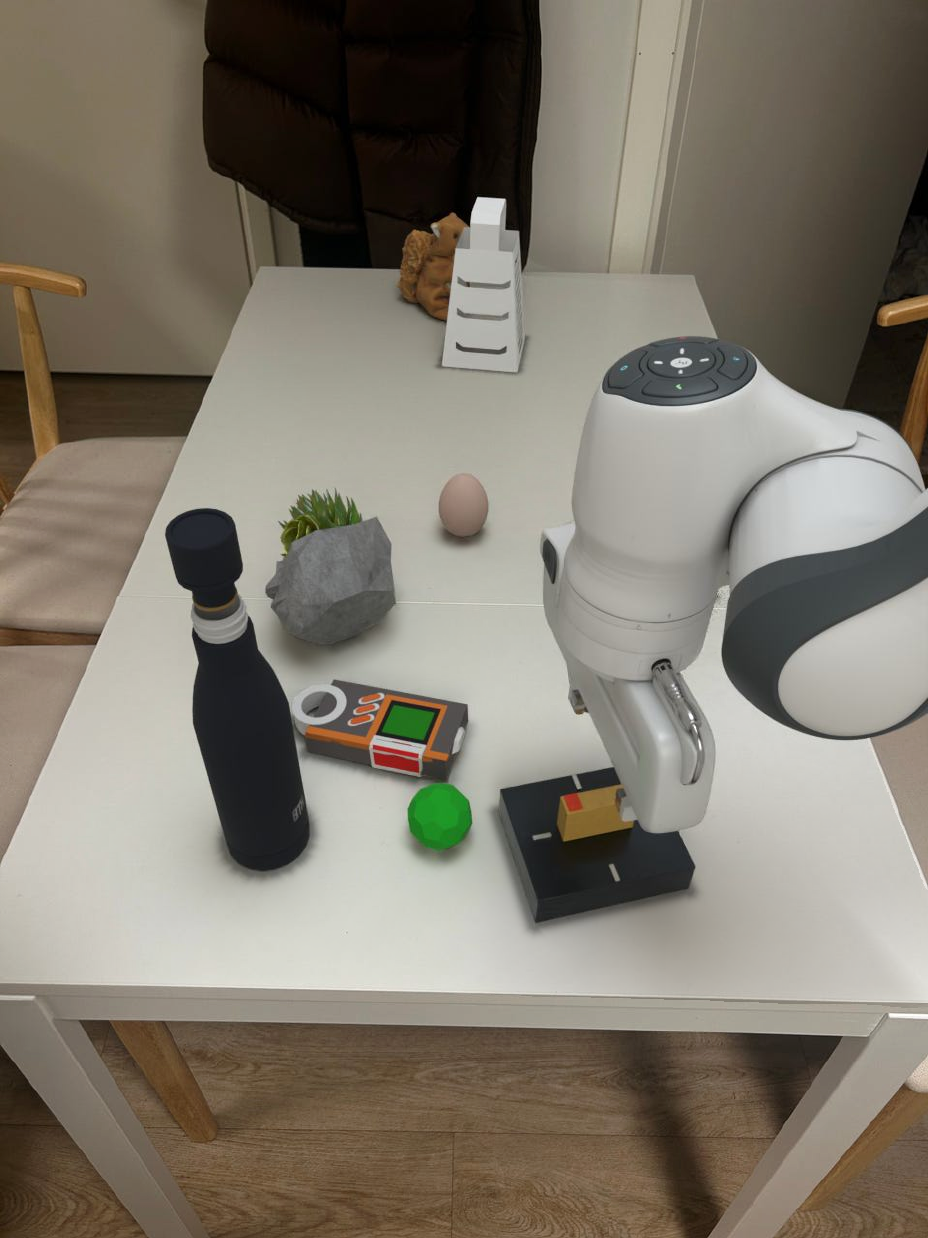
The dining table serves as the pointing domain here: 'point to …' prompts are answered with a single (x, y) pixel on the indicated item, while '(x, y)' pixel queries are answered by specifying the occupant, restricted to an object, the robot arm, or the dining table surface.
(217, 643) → the insulated water bottle
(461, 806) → the polyhedron
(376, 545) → the potted plant
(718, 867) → the dining table surface
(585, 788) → the block
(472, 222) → the grater
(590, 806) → the tap handle
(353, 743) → the electronic device
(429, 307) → the stuffed squirrel
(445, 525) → the egg
